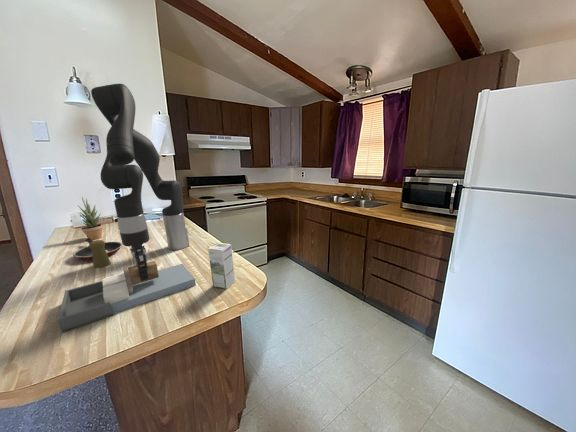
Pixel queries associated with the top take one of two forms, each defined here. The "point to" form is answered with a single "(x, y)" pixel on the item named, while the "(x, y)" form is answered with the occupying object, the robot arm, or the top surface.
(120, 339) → the top surface
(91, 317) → the tray
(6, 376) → the top surface
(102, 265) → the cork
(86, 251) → the frying pan
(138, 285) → the board
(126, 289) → the tile
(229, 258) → the syrup box
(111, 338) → the top surface
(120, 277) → the tile
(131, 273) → the scraper
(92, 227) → the potted plant
